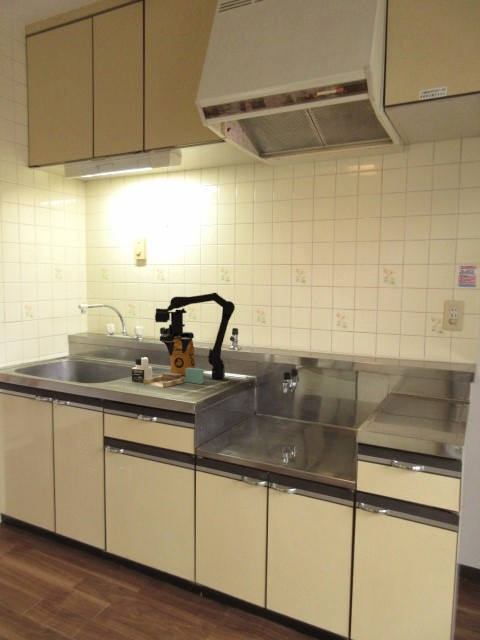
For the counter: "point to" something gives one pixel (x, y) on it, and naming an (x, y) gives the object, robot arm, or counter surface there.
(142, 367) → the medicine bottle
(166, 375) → the offcut top
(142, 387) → the counter surface
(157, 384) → the wooden tray
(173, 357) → the coffee package
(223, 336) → the robot arm
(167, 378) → the offcut low
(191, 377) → the teal rectangular block
